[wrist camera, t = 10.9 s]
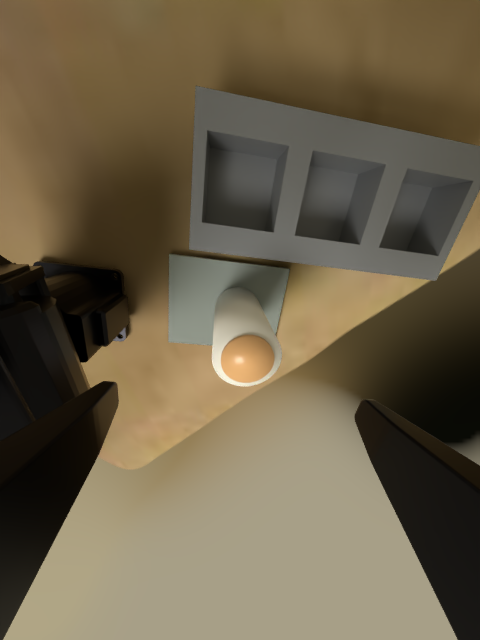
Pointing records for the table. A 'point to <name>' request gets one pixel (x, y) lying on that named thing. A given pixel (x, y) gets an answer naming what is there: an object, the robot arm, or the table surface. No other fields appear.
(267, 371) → the plug
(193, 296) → the mat
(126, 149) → the table surface
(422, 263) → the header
